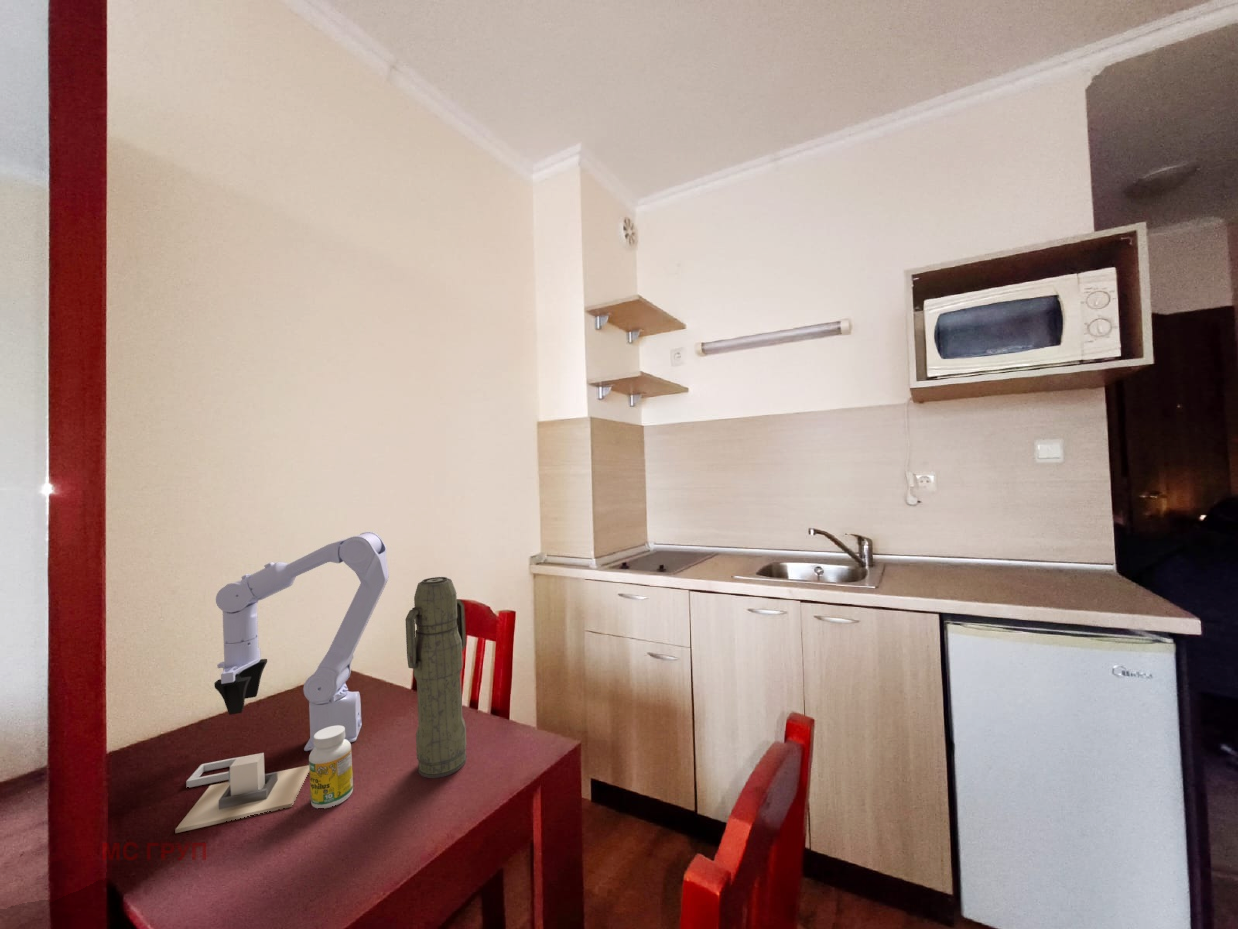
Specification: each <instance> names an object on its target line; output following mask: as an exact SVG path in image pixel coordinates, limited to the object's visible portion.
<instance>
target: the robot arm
mask: <svg viewBox="0 0 1238 929" xmlns="http://www.w3.org/2000/svg"><path fill="white" fill-rule="evenodd" d="M387 550H388V548H387V546H386V544H385V542H384V541H383V539H382V538H381V537H380V536H379V535H378V534H377V533H375V532H373V531H372V532H371V531H365V532H362V533H360V534H358V535H356V536H355V535H354V536H350V537H347V538H344V539H341V540H337V541H334V542H331V543H328V544H326V545H324V546H322V547H320V548H318V549H316V550H314V551H312V552H310V553H308V554H306V555H304V556H302V557H300V558H298V559H296V560H295V561H292V562H290V563H286V562H282V561H278V562H276V563H275V562H274V561H272V562H269V563H267V564H265V565H264V568H262V569H260V570H258V571H256V572H254V573H252V574H249V573H247V574H244V575H242V576H241V579H240V580H238V581H235V582H231V583H227V584H226V585H224V586H223V587H221V588H220V589H219V590H218V591H217V593H216V595H215V604H216V606H217V607H218V608H219V609H220V611H222V631H223V632H222V634H223V635H222V636H223V658H224V659H223V660H224V661H221V662H219V663H218V664H217V669H223V671H222V672H221V673H220V678H219V679H217V680H216V681H215V682H214V689H215V690H216V691H218V693H219V694H220V696H221V697H222V699H223V702H224V704H225V707H226V709H227V713H228V714H229V715H230V716H231V715H237V714H241V713H243V711H244V707H245V699H252V698H256V697H257V696H258V692H259V687H260V684H261V680H262V679H261V678H262V674H263V672H264V669H265V667H266V665H267V663H268V659H267V658H261V648H259V628H258V627H259V625H258V622H259V621H258V603H259V601H262V600H264V599H267V598H268V597H270V596H273V595H275V594H277V593H279V592H281V591H283V590H285V589H287V588H290V587H291V586H293V585H294V582H295V579H296V577H298V576H300V575H302V574H305V573H307V572H309V571H312V570H313V569H316V568H318V567H320V566H322V565H324V564H327V563H335V564H341V563H344V564H345V565H346V566H348V568H350V569H351V570H352V572H354V573H355V575H356V576H357V578H358V580H359V582H360V584H359V586H358V588H357V590H356V593H355V594H354V597H353V599H352V601H351V603H350V605H349V607H348V609H347V610H346V613H345V616H344V617H343V620H342V621H341V623H340V625H339V628H338V629H337V632H336V634H335V636H334V638H333V641H331V642H332V643H331V644H330V647H329V649H328V650H327V652H326V654H325V655H324V657H323V658H322V660H321V661H320V663H319V664H318V666H317V668H316V670H315V672H313V674H311V675H310V676H309V677H308V678H307V679H306V680H305V682H304V683H303V695H304V697H305V698H306V699H307V701H308V705H309V707H308V710H309V711H308V712H309V713H308V714H309V730H310V731H309V732H310V733H309V734H310V735H309V736H310V738H309V739H308V742H306V745H305V746H304V748H303V750H304V751H305V752H308V751H312V750H313V749H314V748H315V746H314V744H313V743H314V735H315V734H316V733H317V732H318V731H320V730H322V729H324V728H327V727H330V726H337V725H339V726H343V727H344V728H345V739H346V740H348V741H349V742H350V743H353V742H356V741H357V739H358V736H359V733H360V731H361V728H362V725H363V723H362V706H361V695H360V692H359V691H349V688H348V686H347V684H346V682H347V681H348V680H349V678H350V676H351V671H352V669H351V667H352V666H351V665H352V661H353V659H354V653H355V651H356V648H357V647H358V644H359V642H360V641H361V638H362V636H363V634H364V631H365V630H366V628H367V625H368V623H369V621H370V619H371V617H372V615H373V612H374V611H375V609H376V607H377V604H378V603H379V600H380V598H381V596H382V594H383V592H384V589H385V587H386V585H387V584H388V581H389V577H390V576H389V575H390V574H389V566H388V559H387Z"/></svg>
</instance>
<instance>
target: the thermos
mask: <svg viewBox="0 0 1238 929" xmlns="http://www.w3.org/2000/svg"><path fill="white" fill-rule="evenodd" d="M457 596H458V595H457V590H456V588H455V586H454V583H453V580H452V579H451V578H448V577H446V576H435V577H429V578H425V579H423V580H421V581H420V582H419V581H418V583H417V586H416V589H415V593H414V596H413V597H414V598H413V601H414V602H413V603H414V604H413V607H412V608H411V609H410V610H409V611H408V613H407V615H406V617H405V639H406V658H407V666H408V668H409V669H413V677H414V678H415V679H414V680H416V691H417V692H416V694H417V715H418V718H417V719H418V720H417V721H418V725H417V729H416V733H415V740H416V743H415V744H416V745H415V746H416V758H417V762H418V763H417V764H418V766H417V767H418V770H417V771H418V775H420V776H421V777H423V778H427V779H437V778H444V777H447V776H450V775H452V774H454V773H456V772H457V771H459V770H461V769H462V768H463V767H464V766H465V764H466V763H467V753H466V752H467V751H466V749H467V724H466V722H465V719H464V717H463V700H462V675H461V674H462V670H463V666H464V662H463V661H464V660H463V658H464V656H463V651H464V650H465V648H466V646H467V633H466V612H465V604H464V603H463V601H462V600H461V599H459V598H458V597H457Z"/></svg>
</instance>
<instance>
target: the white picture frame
mask: <svg viewBox="0 0 1238 929" xmlns="http://www.w3.org/2000/svg"><path fill="white" fill-rule="evenodd" d="M238 757H239V756H238ZM238 757H232V758H227V759H223V760H222V759H221V760H217V761H212V762H211V761H210V762H206V763H202V764H200V765H199V766H198V768H196V770H195V771H194V772H193V773H192V774H191V775H190V777H188V779H187V780H186V783H185V784H186V789H188V788H187V787H189V788H193V787H199V786H202V785H208V784H213V783H218V782H219V783H220V782H222V781H223V782H224V781H229V773H228V771H223V772H219V773H214V774H209V775H204V776H201V775H202V774H203V773H204V772H209V771H213V770H214V771H215V770H219V769H223V768H228V767H229V768H230V766H231V765H232V764H233V762H234V761H235V760H236V759H237V758H238ZM241 757H243V756H241Z"/></svg>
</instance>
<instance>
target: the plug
mask: <svg viewBox="0 0 1238 929" xmlns="http://www.w3.org/2000/svg"><path fill="white" fill-rule="evenodd" d="M236 758H237V757H236ZM227 772H228V773H229V780H228V782H229V783H230V786H231V796H233V795H238V794H243V793H247V792H252V791H257V790H261V789H264V787H265V774H266V773H265V753H264V752H260V753H255V754H249V755H245V756H243V757H242V756H238V758H237V759H236V760H235V761H234V762H233V764H232V765H231V766H229V770H227Z"/></svg>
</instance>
